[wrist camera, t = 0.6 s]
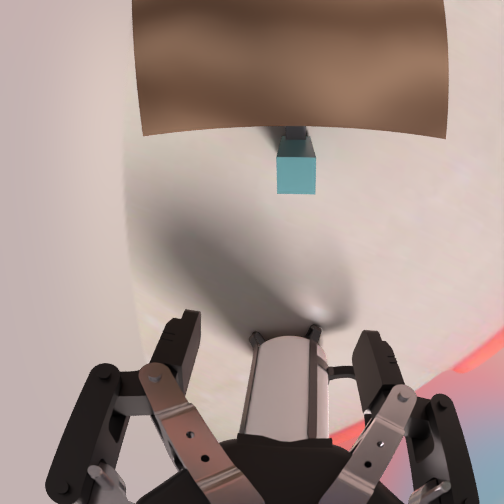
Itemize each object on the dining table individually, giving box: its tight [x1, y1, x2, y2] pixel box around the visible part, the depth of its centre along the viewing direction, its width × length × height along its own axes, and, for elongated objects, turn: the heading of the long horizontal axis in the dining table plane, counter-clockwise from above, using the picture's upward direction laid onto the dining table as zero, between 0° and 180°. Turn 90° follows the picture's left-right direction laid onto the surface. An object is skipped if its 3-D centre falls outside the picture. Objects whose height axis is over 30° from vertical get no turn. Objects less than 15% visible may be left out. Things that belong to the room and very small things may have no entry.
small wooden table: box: [132, 0, 449, 139], centre depth 19 cm, size 16×20×14 cm
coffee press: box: [239, 325, 372, 442], centre depth 35 cm, size 17×16×30 cm
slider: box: [276, 126, 316, 194], centre depth 23 cm, size 20×12×10 cm, turn 3°
